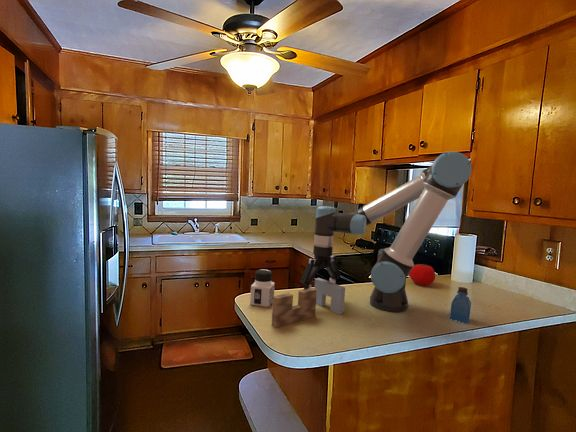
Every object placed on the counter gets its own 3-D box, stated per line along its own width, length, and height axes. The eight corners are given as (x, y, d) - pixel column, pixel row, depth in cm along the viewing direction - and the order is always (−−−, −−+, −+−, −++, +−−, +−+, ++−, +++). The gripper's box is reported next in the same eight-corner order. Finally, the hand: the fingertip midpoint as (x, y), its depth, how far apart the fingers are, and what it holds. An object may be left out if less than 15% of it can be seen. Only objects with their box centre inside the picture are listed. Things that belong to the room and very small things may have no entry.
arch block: (313, 302, 136) (314, 278, 135) (317, 301, 138) (319, 277, 137) (339, 314, 126) (341, 288, 125) (343, 313, 127) (345, 287, 126)
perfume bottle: (468, 323, 124) (471, 292, 122) (449, 319, 127) (453, 288, 126) (469, 318, 129) (472, 288, 128) (451, 314, 132) (454, 284, 131)
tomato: (432, 289, 163) (434, 268, 162) (406, 284, 169) (408, 263, 168) (436, 284, 172) (438, 264, 171) (411, 279, 179) (413, 260, 178)
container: (269, 307, 129) (270, 274, 127) (249, 304, 130) (251, 272, 129) (273, 300, 136) (275, 269, 135) (255, 298, 138) (257, 267, 136)
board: (310, 313, 125) (312, 287, 124) (315, 316, 123) (316, 289, 122) (271, 325, 113) (273, 296, 112) (275, 327, 112) (277, 298, 110)
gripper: (337, 241, 144) (334, 289, 146) (293, 246, 128) (289, 299, 130) (351, 244, 138) (347, 294, 140) (306, 250, 122) (302, 306, 124)
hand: (319, 297), depth 135 cm, fingers open, 13 cm apart
